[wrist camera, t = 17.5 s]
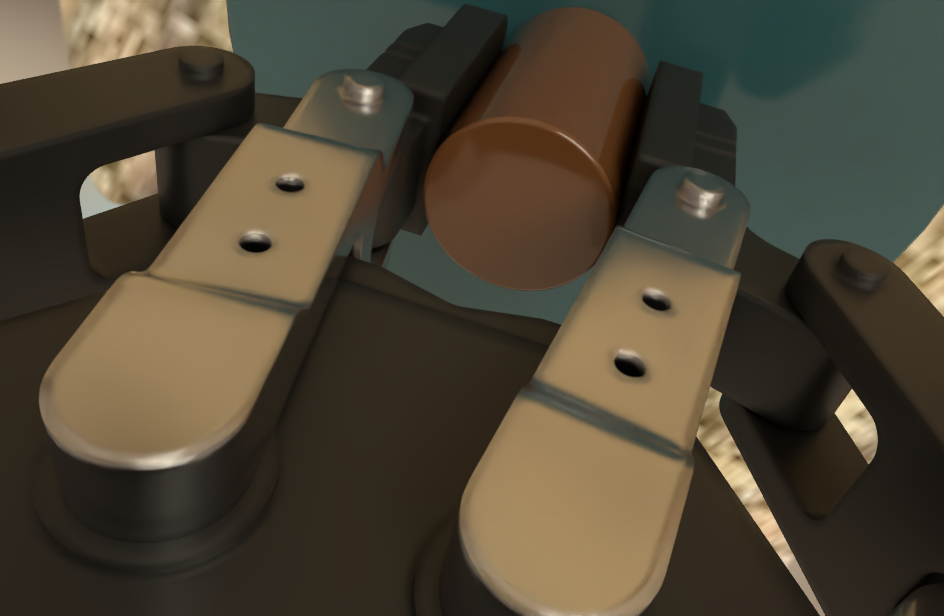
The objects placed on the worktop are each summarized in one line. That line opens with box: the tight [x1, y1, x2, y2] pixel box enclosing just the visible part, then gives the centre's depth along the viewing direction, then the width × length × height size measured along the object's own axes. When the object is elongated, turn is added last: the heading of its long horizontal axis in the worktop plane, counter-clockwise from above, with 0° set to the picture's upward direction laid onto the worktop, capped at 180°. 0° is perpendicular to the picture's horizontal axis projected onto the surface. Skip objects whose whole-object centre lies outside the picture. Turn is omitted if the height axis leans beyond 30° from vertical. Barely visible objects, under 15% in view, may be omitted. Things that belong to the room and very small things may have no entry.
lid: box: [226, 0, 944, 325], centre depth 13 cm, size 13×13×6 cm
